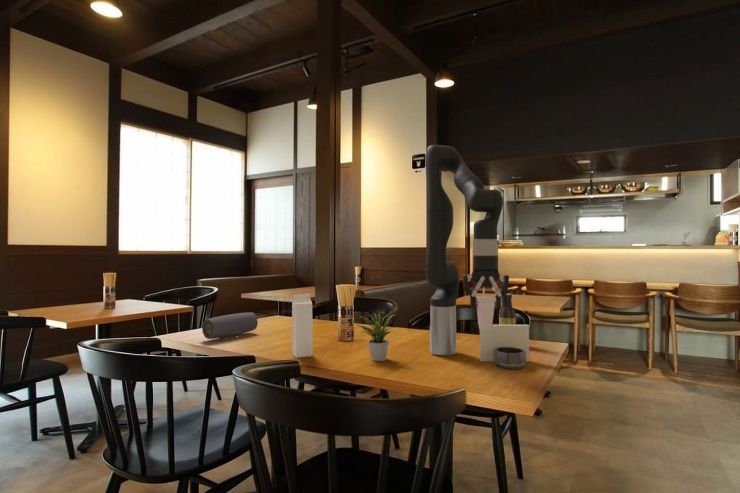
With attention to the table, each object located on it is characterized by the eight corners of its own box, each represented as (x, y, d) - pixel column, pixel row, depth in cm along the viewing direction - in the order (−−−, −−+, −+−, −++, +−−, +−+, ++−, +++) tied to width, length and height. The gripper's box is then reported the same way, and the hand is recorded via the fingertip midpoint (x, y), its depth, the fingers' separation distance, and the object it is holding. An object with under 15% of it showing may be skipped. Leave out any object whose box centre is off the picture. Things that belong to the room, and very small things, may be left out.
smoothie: (471, 326, 132) (471, 282, 132) (491, 326, 133) (491, 282, 133) (478, 331, 126) (478, 284, 126) (499, 330, 126) (499, 284, 126)
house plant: (379, 351, 156) (379, 307, 156) (408, 357, 146) (408, 310, 147) (351, 358, 146) (350, 311, 146) (379, 366, 136) (379, 315, 137)
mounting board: (480, 361, 141) (480, 325, 142) (480, 360, 143) (479, 324, 143) (529, 361, 141) (528, 325, 141) (528, 360, 142) (527, 324, 142)
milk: (312, 356, 150) (312, 294, 150) (295, 358, 148) (295, 295, 148) (308, 352, 156) (308, 292, 156) (291, 354, 153) (291, 293, 153)
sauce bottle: (510, 342, 170) (510, 292, 170) (519, 345, 164) (519, 294, 164) (496, 343, 168) (495, 293, 169) (504, 346, 162) (504, 294, 162)
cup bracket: (498, 369, 131) (498, 353, 131) (490, 361, 141) (490, 346, 141) (528, 370, 131) (528, 353, 131) (518, 361, 141) (518, 346, 141)
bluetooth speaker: (245, 331, 196) (245, 310, 196) (258, 334, 191) (258, 312, 191) (201, 340, 178) (201, 316, 178) (214, 343, 172) (214, 318, 173)
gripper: (463, 254, 126) (464, 310, 126) (512, 254, 125) (512, 310, 125) (459, 254, 133) (459, 306, 133) (505, 254, 133) (505, 307, 133)
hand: (485, 308), depth 129 cm, fingers closed on smoothie, 6 cm apart
